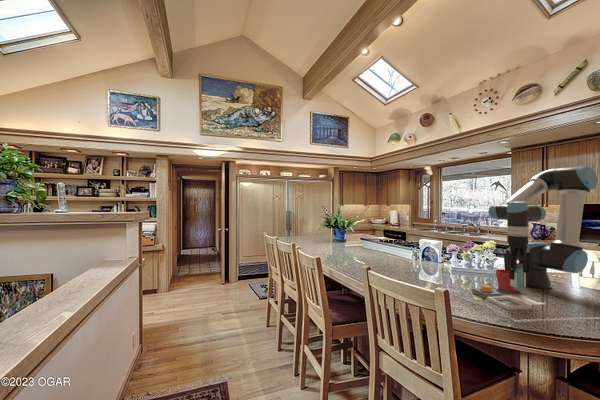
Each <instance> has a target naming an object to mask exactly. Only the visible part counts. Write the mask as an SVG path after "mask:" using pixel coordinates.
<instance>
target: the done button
mask: <svg viewBox="0 0 600 400" xmlns="http://www.w3.org/2000/svg"><path fill="white" fill-rule="evenodd" d="M480 288H481V291H483V292H485V293H492V290H493V287H492V286H490V285H487V284H481V285H480Z"/></svg>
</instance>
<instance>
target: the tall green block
mask: <svg viewBox="0 0 600 400" xmlns="http://www.w3.org/2000/svg"><path fill="white" fill-rule="evenodd" d="M515 273H517V287H513V289H515V290H519V291H520V292H521V291H524V287H523V263H519V261H517V263H516V270H515Z"/></svg>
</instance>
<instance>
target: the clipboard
mask: <svg viewBox="0 0 600 400" xmlns="http://www.w3.org/2000/svg"><path fill="white" fill-rule="evenodd" d="M501 296H510V297H512V298H515V299H517V300H519V301H522V302H524V303H527V304H529V305H532V306H533V305H534V306H535V305H536V306H537V305H546V303H545V302H543V301H542V300H541V299H538V298H535V297H534V296H533V297H532V296H530V295H523V294H521V293H520V294H501Z"/></svg>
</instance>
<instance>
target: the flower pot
mask: <svg viewBox="0 0 600 400" xmlns="http://www.w3.org/2000/svg"><path fill="white" fill-rule="evenodd" d="M495 275H496V282H497V286H498V289H500V290H501V291H505V292H512V293H516V292H519V291H520V290H515V289H513V286H511V285H510V278H509V271H507V270H505V269H501V268H500V269H495Z"/></svg>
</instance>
